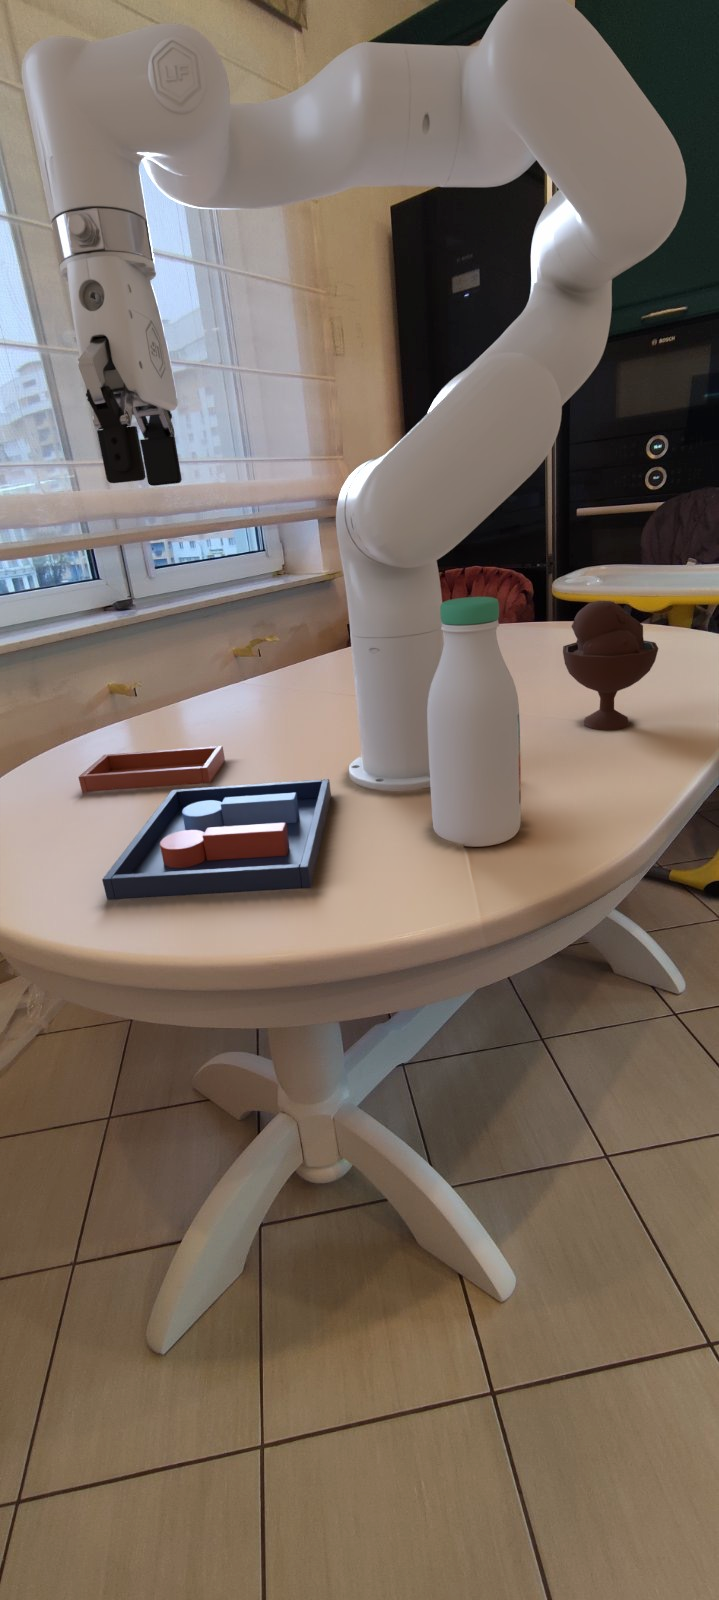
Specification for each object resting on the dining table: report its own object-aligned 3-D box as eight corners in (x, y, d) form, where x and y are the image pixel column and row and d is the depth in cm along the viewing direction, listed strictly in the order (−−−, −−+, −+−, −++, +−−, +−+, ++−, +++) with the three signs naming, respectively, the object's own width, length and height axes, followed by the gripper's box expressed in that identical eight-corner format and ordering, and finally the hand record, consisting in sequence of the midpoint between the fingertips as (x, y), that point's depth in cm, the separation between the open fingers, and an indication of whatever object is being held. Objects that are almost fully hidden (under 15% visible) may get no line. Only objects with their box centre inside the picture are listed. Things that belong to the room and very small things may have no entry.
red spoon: (291, 841, 65) (287, 816, 64) (285, 862, 61) (281, 836, 60) (171, 849, 65) (166, 825, 64) (157, 869, 62) (152, 844, 61)
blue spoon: (300, 810, 71) (297, 788, 70) (295, 827, 67) (292, 803, 66) (191, 818, 72) (186, 795, 71) (180, 835, 68) (175, 811, 67)
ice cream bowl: (642, 740, 83) (650, 606, 77) (547, 731, 89) (548, 606, 83) (663, 715, 91) (671, 592, 85) (575, 709, 97) (577, 593, 91)
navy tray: (331, 799, 74) (329, 778, 74) (311, 893, 56) (308, 866, 56) (176, 810, 76) (172, 789, 75) (108, 904, 58) (101, 879, 57)
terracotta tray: (225, 763, 89) (222, 745, 88) (210, 786, 81) (207, 767, 81) (108, 772, 90) (104, 754, 89) (82, 795, 83) (77, 776, 82)
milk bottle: (520, 849, 60) (519, 603, 53) (428, 849, 62) (413, 609, 54) (520, 812, 67) (519, 590, 60) (437, 813, 69) (426, 596, 61)
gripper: (106, 207, 50) (154, 475, 57) (182, 278, 66) (213, 481, 73) (5, 222, 51) (64, 485, 58) (104, 289, 67) (142, 489, 73)
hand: (147, 483), depth 65 cm, fingers open, 9 cm apart
